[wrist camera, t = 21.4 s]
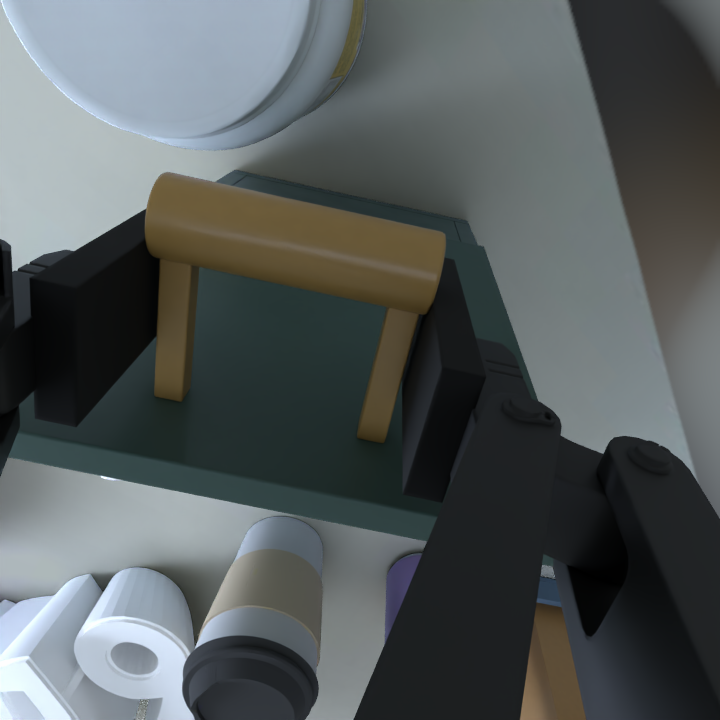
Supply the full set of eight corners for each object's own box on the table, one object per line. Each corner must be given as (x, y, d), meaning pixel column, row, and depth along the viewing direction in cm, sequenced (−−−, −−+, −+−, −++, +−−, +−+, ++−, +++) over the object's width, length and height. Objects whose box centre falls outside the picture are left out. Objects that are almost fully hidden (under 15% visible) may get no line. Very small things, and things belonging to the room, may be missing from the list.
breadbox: (396, 471, 47) (395, 534, 41) (206, 433, 47) (175, 490, 40) (467, 220, 38) (480, 251, 32) (234, 169, 38) (201, 190, 32)
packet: (596, 606, 51) (659, 781, 39) (556, 682, 56) (601, 861, 43) (527, 592, 51) (568, 764, 39) (492, 669, 56) (519, 846, 43)
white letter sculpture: (-70, 694, 63) (-154, 805, 54) (-157, 577, 56) (-270, 681, 47) (252, 669, 58) (223, 786, 49) (201, 538, 51) (156, 645, 42)
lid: (578, 573, 13) (706, 331, 11) (-101, 436, 13) (-161, 143, 10) (479, 260, 32) (516, 141, 29) (197, 199, 31) (207, 71, 28)
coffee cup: (356, 538, 50) (340, 711, 37) (302, 602, 54) (270, 781, 41) (261, 488, 49) (208, 650, 35) (212, 557, 52) (147, 728, 39)
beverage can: (380, 553, 51) (372, 729, 37) (450, 544, 50) (469, 721, 37) (394, 604, 53) (392, 786, 40) (461, 596, 53) (483, 780, 39)
